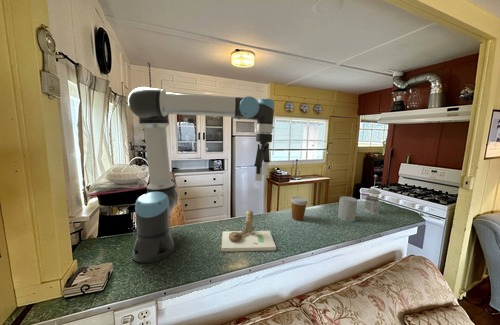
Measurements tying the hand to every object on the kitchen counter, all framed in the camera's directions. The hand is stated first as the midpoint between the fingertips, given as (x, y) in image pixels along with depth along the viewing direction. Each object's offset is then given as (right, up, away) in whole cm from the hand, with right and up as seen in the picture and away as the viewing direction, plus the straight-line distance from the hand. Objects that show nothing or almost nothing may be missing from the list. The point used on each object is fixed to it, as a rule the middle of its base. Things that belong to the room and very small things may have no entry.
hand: (261, 177), depth 97 cm
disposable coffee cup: (+22, -26, +21) cm, 40 cm away
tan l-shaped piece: (-9, -26, -4) cm, 28 cm away
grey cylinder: (+52, -26, +23) cm, 63 cm away
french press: (+74, -25, +34) cm, 86 cm away
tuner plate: (-7, -29, -6) cm, 30 cm away
